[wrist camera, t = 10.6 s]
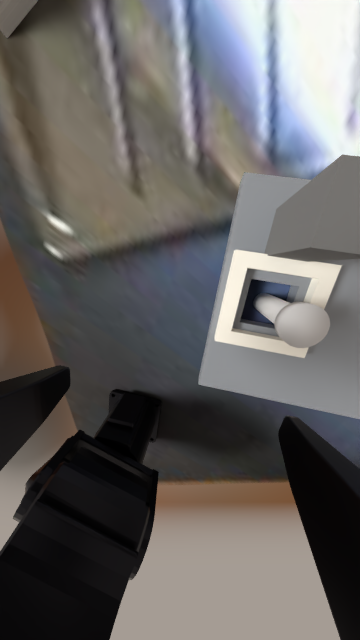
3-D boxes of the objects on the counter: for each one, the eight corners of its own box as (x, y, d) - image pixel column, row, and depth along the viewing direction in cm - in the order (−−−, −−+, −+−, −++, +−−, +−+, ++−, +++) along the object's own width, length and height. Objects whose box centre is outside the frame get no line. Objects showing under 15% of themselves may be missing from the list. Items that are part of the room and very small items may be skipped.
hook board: (356, 409, 19) (448, 495, 12) (198, 376, 21) (195, 435, 13) (468, 208, 14) (768, 141, 6) (240, 181, 15) (273, 100, 8)
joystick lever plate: (298, 353, 17) (360, 409, 10) (214, 336, 17) (220, 379, 11) (351, 218, 13) (494, 170, 7) (244, 204, 14) (279, 148, 7)
